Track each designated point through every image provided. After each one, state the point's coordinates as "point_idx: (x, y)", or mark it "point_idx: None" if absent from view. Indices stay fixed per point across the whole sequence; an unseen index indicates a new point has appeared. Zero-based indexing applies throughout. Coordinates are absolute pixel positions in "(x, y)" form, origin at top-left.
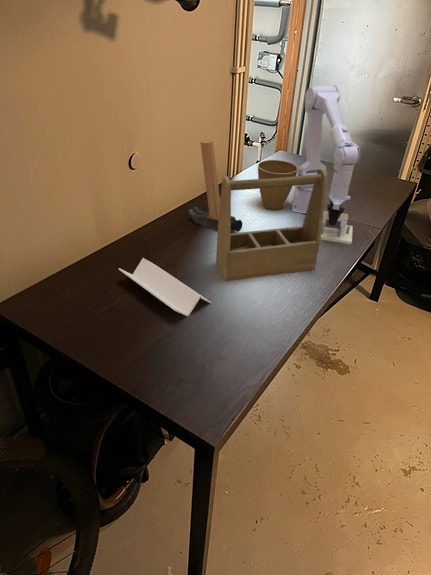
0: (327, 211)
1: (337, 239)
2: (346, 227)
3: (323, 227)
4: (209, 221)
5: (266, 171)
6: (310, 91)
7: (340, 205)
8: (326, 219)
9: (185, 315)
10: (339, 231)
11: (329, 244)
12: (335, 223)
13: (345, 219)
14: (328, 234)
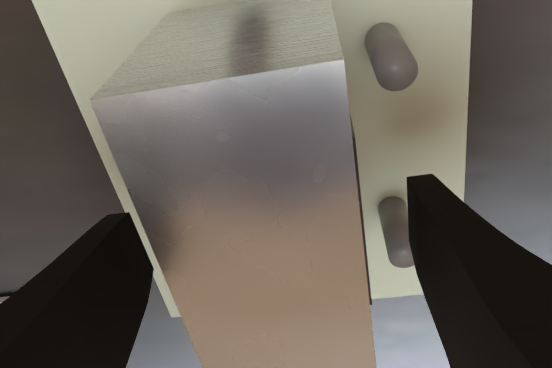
0: (210, 352)
1: (470, 36)
2: (98, 2)
3: (409, 246)
4: None
5: None
6: None
7: (41, 321)
8: (370, 301)
9: None
10: (416, 68)
11: (536, 85)
12: (451, 194)
13: (347, 101)
14: (382, 146)
